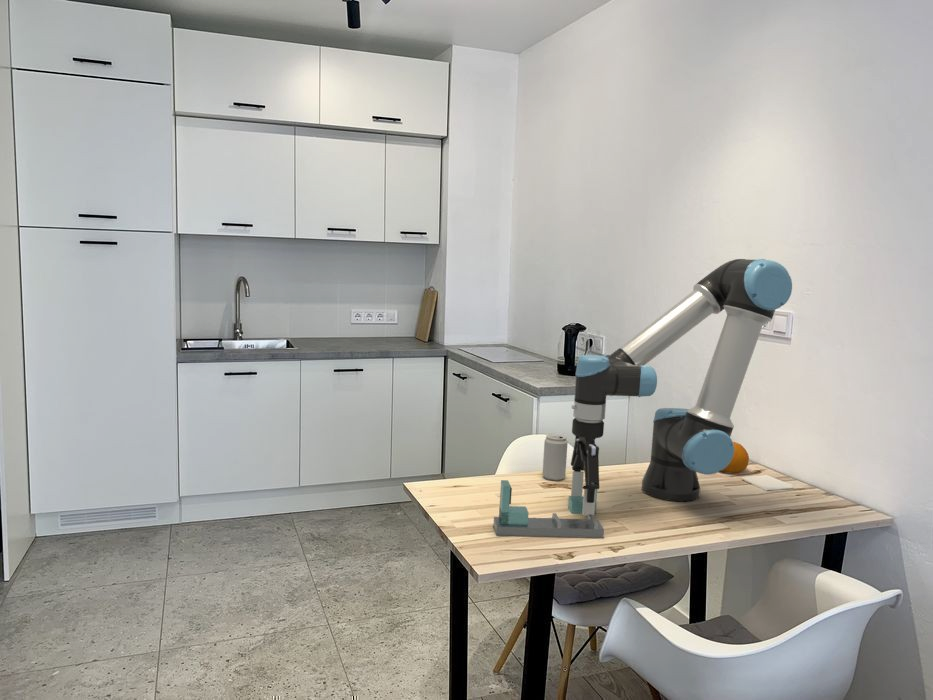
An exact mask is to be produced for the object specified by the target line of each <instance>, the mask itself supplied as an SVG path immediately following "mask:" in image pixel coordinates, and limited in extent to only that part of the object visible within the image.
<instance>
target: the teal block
mask: <svg viewBox="0 0 933 700" xmlns="http://www.w3.org/2000/svg"><path fill="white" fill-rule="evenodd" d="M591 484H594V483H591ZM598 490H599V489H596V498H595V511H594V515H596V514H597V503H598V501H597V499H598ZM583 497H584V495H582V496H571V495H569V496H568V499H567V500H568V502H567V503H568V504H567V509H568V511H569V512H570V513H571V514H574V515H579V514H580V515H583V514H582V510H583Z"/></svg>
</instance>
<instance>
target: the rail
mask: <svg viewBox="0 0 933 700" xmlns="http://www.w3.org/2000/svg"><path fill="white" fill-rule="evenodd" d="M512 489H513V488H512V486H511V484H510V482H509V480H508V479H507V480H500V493H499V507H498V511H499V512H498V516H494V517H493V525H492V526H493V528H494V533H495V535H496V536H497V537H500V536H502V537H505V536H506V537H541V538H542V537H545V538H546V537H549V538H588V539H589V538H595V539H604V535H605V528H604V527H603V526H602V524H601V522H600V521H599V519H596V518H595V517H594V515H592V514H588V515H587V518H559V516H558V515H557V513H555V512H554V513H553V512H552V515H551V516H552V517H551V518H549V517H547V518H546V517H529V511H528V507H527V506H520V505H519V506H518V505H517V506H516V505H513V506H512V505H511V504H512V491H513V490H512Z"/></svg>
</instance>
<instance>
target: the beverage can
mask: <svg viewBox="0 0 933 700" xmlns="http://www.w3.org/2000/svg"><path fill="white" fill-rule="evenodd" d="M568 442H569V441H568V440H567V436H565V435H563V434H555V433H553V434H552V433H551V434H547V435H546V436H545V439H544V445H543V460H542V461H543V463H542V476H543V477H544V479H546V480H549V481H554V482H555V481H556V482H557V481H562V480H563V479H564V478H566V471H567V460H568V459H567V457H568V456H567V454H568V444H569V443H568Z"/></svg>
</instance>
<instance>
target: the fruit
mask: <svg viewBox="0 0 933 700" xmlns="http://www.w3.org/2000/svg"><path fill="white" fill-rule="evenodd" d="M732 442H733V445H734V455H733V458H732V460H731V462H730V463H729V464H728V466H727V467H726V468H724V469H723V470H721V471H720V472H722V473H726V474H738V473H741V472H744V470H746V469H747V467H748V465H749V462H750V461H749V460H750V457H749V453H748V451H747V450H746V448H745V447H744V446H743V445H742V444H741V443H739V442H736V441H732Z"/></svg>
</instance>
